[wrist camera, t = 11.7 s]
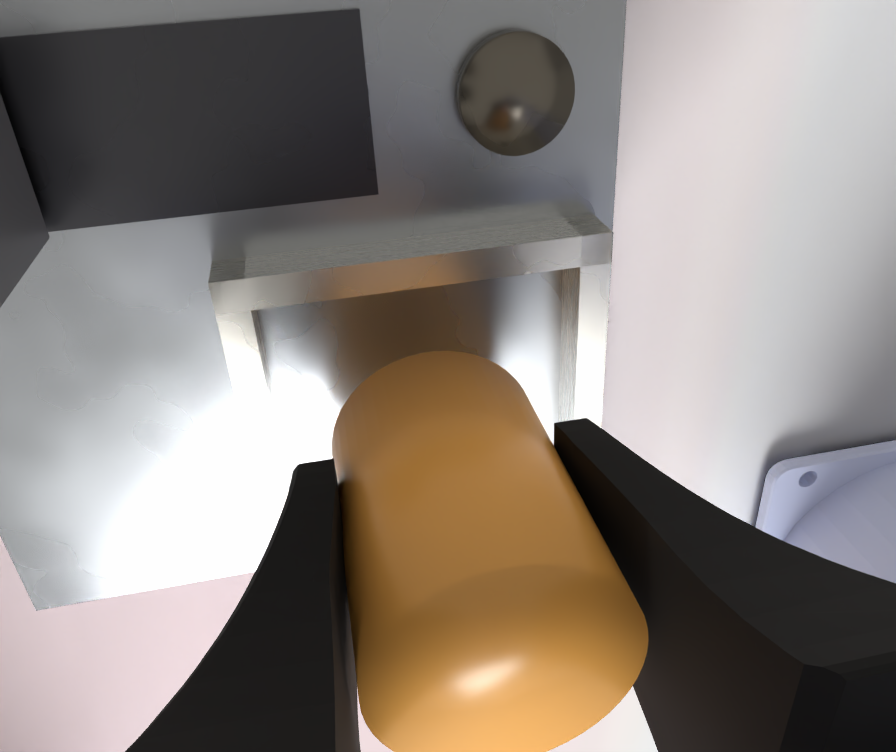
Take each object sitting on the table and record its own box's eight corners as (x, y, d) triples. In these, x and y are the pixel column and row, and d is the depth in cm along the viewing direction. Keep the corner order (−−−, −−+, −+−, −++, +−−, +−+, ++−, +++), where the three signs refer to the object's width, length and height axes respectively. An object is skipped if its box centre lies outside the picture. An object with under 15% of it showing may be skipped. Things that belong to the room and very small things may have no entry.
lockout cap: (539, 341, 14) (669, 544, 10) (526, 507, 16) (628, 741, 12) (323, 360, 14) (350, 588, 9) (338, 531, 16) (366, 789, 11)
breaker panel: (634, -566, 10) (702, -657, 9) (582, 488, 20) (610, 538, 18) (-493, -595, 8) (-674, -717, 7) (46, 581, 18) (24, 647, 16)
